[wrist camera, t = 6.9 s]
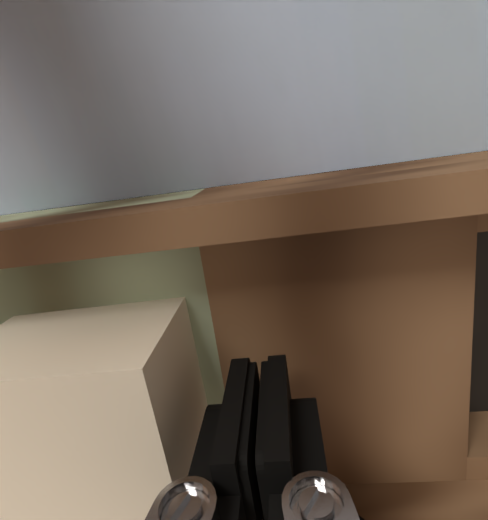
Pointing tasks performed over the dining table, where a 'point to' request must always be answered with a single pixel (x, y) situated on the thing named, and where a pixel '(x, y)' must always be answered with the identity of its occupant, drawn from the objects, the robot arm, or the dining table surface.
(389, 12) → the dining table surface
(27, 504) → the cream block
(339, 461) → the box
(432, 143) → the dining table surface
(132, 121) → the dining table surface
